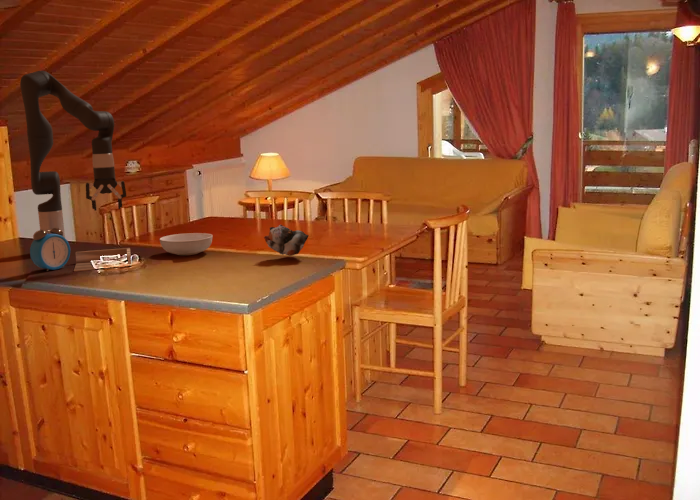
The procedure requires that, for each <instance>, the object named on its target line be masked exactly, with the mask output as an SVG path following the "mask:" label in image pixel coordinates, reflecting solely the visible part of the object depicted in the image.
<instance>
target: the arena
mask: <svg viewBox="0 0 700 500" xmlns="http://www.w3.org/2000/svg"><path fill="white" fill-rule="evenodd" d="M74 254H75V261H76V262H75V266H74V268H73V272H76V273H77V272H87V271H96V270H95V269H94V268H93V267H92V266H91V265H90V261H91V260H99V259H100V256H102V255H103V256H104V255H117V254H120V255H124V254H127V260H128V264H131V265H132V259H131V258H132V254H131V248H130V247H125V248H124V247H123V248H113V249H110V248H109V249H101V250H100V249H97V250H86V251H76V252H75V253H74Z"/></svg>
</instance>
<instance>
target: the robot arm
mask: <svg viewBox="0 0 700 500" xmlns="http://www.w3.org/2000/svg"><path fill="white" fill-rule="evenodd" d="M19 86H20V92H21V96H22V102H23V105H24V106H23V107H24V113H25V120H26V121H25V122H26V133H27V143H28V145H27V146H28V151H29V159H30V160H29V161H30V186H31V190H32V192H33V194H34V195H37V196H41V195H52V196H51V198H49V199H48V200H46V201H44V202H41V203H39V204H38V205H37V215H38V224H39V230H44V231H46V233H48V232H47V231H48V230H51V229H53V228H59V229H61V230H62V231H63V234H64V235H63V237H64V238H65V239H66V236H65V235H66V234H65V225H64V224H65V223H64V215H63V206H62V204H63V203H62V197H61V179H60V174H59V173H58V172H57V171H55V170H54V171H53V170H52V171H40V170H41V167H42V164H43V162H44V160H45V159H46V157H47V156H48V155H49V153H50V151H51V150H52V148H53V145H54V132H53V127H52V124H51V123H50V122H49V120H48V119H47V118H46V116H45V115H44V114H43V113H42V111H41V109H40V102H39V98H41V97H45V96H48V95H51V96H53V97H55V98H57V99H58V100H59V102H60V105H61V107H62V109H63V110H64V111H65V112H66V113H68V114H69V115H71V116H73V117H74V118H76V119H78V121H80V123H82V125H83V126H84V127H85V128H87V129H88V130H89V131H95V132H98V134H97V136H96V137H94V138H92V139H91V151H92V170H93V171H92V172H93V180H94V181H93V182H86V183H85V198H86V200H90V201H91V208H92V210H94V211H96V212H97V211H98V210H97V209H98V208H97V200H96V198H97V197H98V195H99V194H102V195H104V194H112V193H113V194H114V195H115V196H116V197H117V206H118V210H121V208H123V201H122V200H123V198H126V197H127V190H126V184H125V181H124V180H121V181H120V180H119V181H117V180H116V170H115V169H116V168H115V159H114V154H113V146H112V144H113V143H112V141H113V137H114V136H113V135H114V131H115V130H114V129H115V120H114V117H113V115H112V114H111V112H109V111H105V110H103V111H101V110H100V111H99V110H94V107H93V106H92V105H91V103H89V102H87V101H85V100H84V99H82V98H80V97H79V96H78V95H76V94H74V93H73V92H71V90H69V88H67V87H66V86H65V85H64V84H62V83H61V82H60V81H59V80H57V78H56V77H54V76H53V75H52V74H51V73H49V72H48V71H46V70H37V71H32V72H29V73H26V74H25V73H24V75H22V76H21V78H20V81H19ZM118 186H119V187H120V188H121V191H122V194H120V193H119V192H118V191H117V189H116V187H118ZM93 187H94V188H95V190H96V191H95V192H94V194H93V195H92V196H91V193H90V192H91V190H90V189H92V188H93ZM49 234H52V233H50V231H49Z"/></svg>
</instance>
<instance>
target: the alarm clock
mask: <svg viewBox="0 0 700 500" xmlns="http://www.w3.org/2000/svg"><path fill="white" fill-rule="evenodd" d="M49 231H50V233H52V234H49ZM47 232H48V233H46V231H44V230H40V229H39V230H37V231H35V232H34V234H33V235H32V238H33V240H32V242H31V243H30V244H31V245H30V248H29V255H30V260H31V261H32V263H33V264H34V265H35V266H37V267H38V268H40V269H43V270H46V272H49V271H50V270H56V271H57V270H59V269H61V268H63V269H65V265H66V264H67V263H68V262H69V259H70V256H71V246H70V243H69V242H68V240H67V239H66V237H65V238H64V237H63V235H64V234H63V231H62V230H61V229H59V228H53V229H51V230H48V231H47Z"/></svg>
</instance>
